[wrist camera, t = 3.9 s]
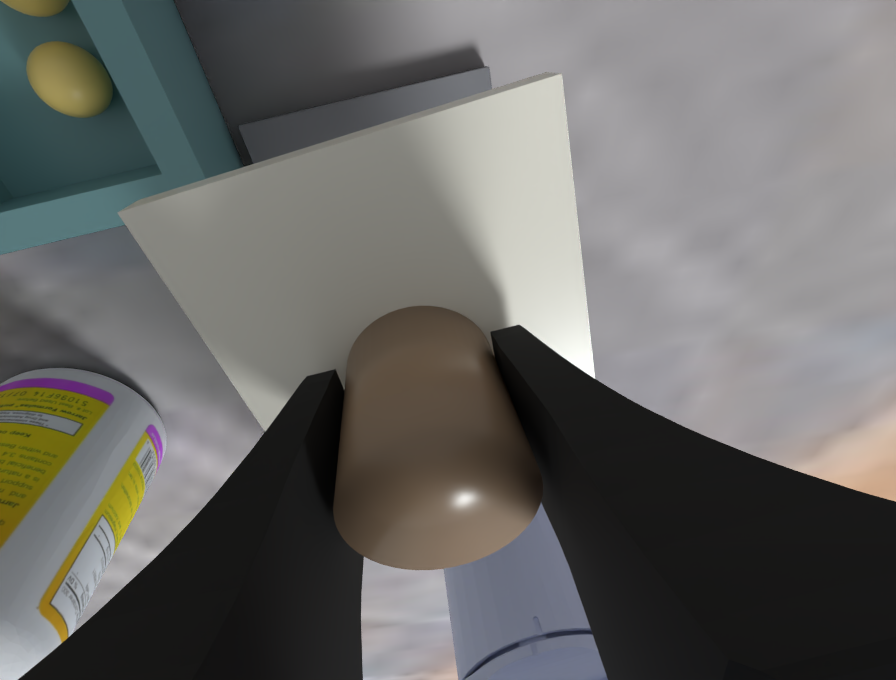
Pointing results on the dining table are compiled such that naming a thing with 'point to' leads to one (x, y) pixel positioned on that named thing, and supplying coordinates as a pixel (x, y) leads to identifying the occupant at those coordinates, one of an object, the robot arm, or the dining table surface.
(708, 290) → the dining table surface
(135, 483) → the supplement bottle
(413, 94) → the pad
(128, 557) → the dining table surface
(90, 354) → the dining table surface
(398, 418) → the lid
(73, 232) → the box
